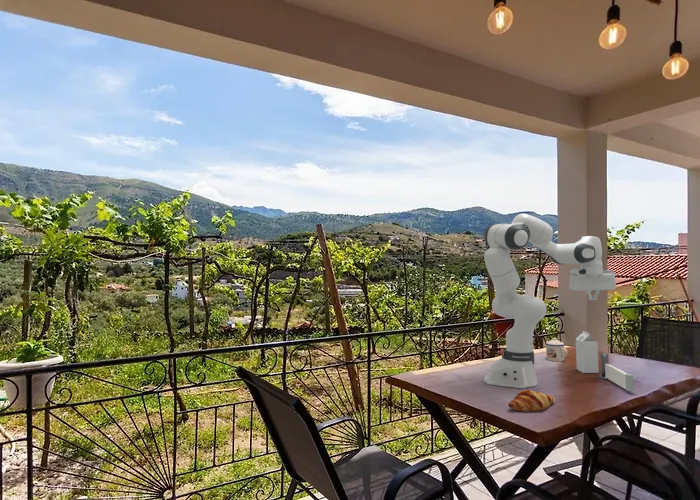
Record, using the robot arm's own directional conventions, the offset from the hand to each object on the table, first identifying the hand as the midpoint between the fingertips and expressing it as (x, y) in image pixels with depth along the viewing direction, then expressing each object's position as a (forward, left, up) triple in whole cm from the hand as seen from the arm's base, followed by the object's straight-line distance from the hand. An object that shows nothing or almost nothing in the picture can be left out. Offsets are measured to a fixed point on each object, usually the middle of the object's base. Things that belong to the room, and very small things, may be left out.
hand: (593, 300), depth 196 cm
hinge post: (+3, -4, -35) cm, 35 cm away
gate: (+5, -16, -34) cm, 38 cm away
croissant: (-32, -52, -36) cm, 71 cm away
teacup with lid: (-12, +28, -35) cm, 47 cm away
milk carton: (-2, +7, -35) cm, 36 cm away
